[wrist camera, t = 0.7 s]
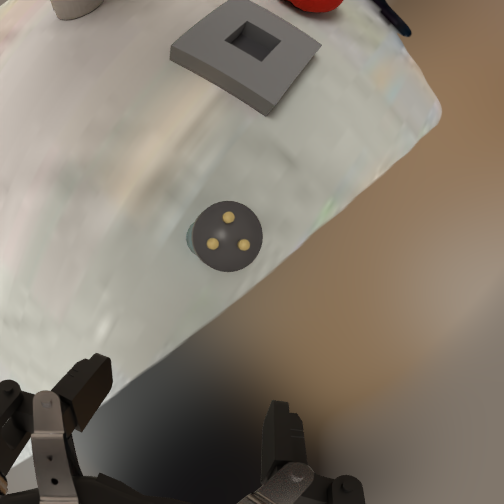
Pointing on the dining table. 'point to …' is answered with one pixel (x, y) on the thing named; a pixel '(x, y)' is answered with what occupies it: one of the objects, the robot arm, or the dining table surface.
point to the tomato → (316, 5)
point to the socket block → (246, 52)
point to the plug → (226, 236)
